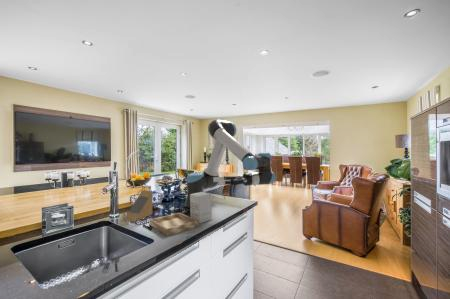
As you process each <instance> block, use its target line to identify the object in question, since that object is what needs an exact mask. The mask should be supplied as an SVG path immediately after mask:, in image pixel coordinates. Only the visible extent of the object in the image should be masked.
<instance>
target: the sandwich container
mask: <svg viewBox="0 0 450 299" xmlns="http://www.w3.org/2000/svg"><path fill="white" fill-rule="evenodd" d="M151 215H153V190H147V189H142V190H141V191H140V193H139V195H138V197H136V200H135V201H134V203H133V205H132V206H131V208H129V211H128V212H127V214H126V215H125V217H124V218H123V221H126V220H127V221H128V222H132V221H133V222H136V221H139V220H141V219H143V218H144V219H145V218H146V217H148V216H151Z"/></svg>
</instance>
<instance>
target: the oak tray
mask: <svg viewBox="0 0 450 299" xmlns="http://www.w3.org/2000/svg"><path fill="white" fill-rule="evenodd" d="M149 226H151V228H152V229H155V230H156V231H158V232H159V233H161V234H162V235H164V236H165V237H168V236H171V235H174V234H175V235H176V234H178V233H182V232H185V231H188V230H191V229H195V228H199V226H200V223H199V221H198V220H196V219H193V218H191V216H189V215H186V214H184V213H181V212H177V213H172V214H168V215H165V216H160V217H155V218H151V219H149Z"/></svg>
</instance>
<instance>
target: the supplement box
mask: <svg viewBox="0 0 450 299" xmlns="http://www.w3.org/2000/svg"><path fill="white" fill-rule="evenodd" d="M212 209H213V208H212V193H209V192H205V191H203V192H199V193H194V194H190V208H189V210H190V213H189V214H190V217H191V218H193V219H196V220H198V221H199V224H203V223H204V222H208V221H210V220H212V219H213V216H212V214H213V213H212V212H213V211H212Z"/></svg>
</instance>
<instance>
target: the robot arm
mask: <svg viewBox="0 0 450 299" xmlns="http://www.w3.org/2000/svg"><path fill="white" fill-rule="evenodd" d="M207 129H208V133H209V135H210V136H211V137H212V139H214V140H215V141H214V145H213V148H212V151H211V153H210V158H209V160H208V164H207V166H206V167H205V168H204V169H203V172H201V171H197V172H191V173H189V174H187V175H186V194H187V195H186V198H185V201H184V207H185V208H188V209H190V194H194V193H199V192H204V190H207V189H213V188H216V187H217V186H229V185H231V186H238V185H244V186H246V187H247V186H248V187H249V186H254V187H256V185H257V186H259V185H260V186H261V185H262V186H263V185H264V186H265V185H272V184H274V183H275V182H276V178H277V177H276V174H275V172H274V171H272V158H271V153H270V152H259V153H258V155H257V156H256V155H254V153H252V152H251V151H250V150H249V149H247V148H246V147H245V146H243V144H241V143H240V142H239V141H238V140H237V139H236V138H235V135H236V134H237V127H236V124H235V123H234V122H232V121H229V120H222V119H214V120H212V121H211V122H210V123H209V124H208V127H207ZM226 149H227V150H228V151H229V152H231V153H232V154H233V155H234V156H235V157H236V158H237V159H238V160H240V162H241V163H242V166H243V168H244V170H247V171H255V170H258V172H244V173H243V174H242V176H240V175H238V176H234V175H233V176H231V175H230V176H229V175H227V176H220V175H219V174H220V173H219V168H220V165H221V162H222V160H223V156H224V153H225V151H226Z"/></svg>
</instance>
